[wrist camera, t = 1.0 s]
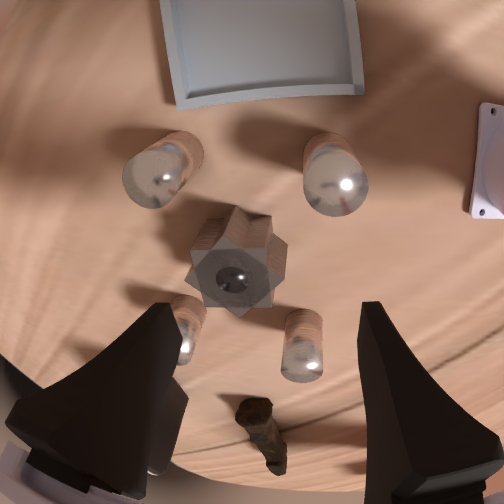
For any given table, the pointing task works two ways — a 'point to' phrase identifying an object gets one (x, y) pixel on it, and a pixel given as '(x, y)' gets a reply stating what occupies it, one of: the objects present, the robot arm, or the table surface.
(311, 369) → the cylinder
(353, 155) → the cylinder
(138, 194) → the cylinder
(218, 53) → the tray
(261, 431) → the dark brown bar
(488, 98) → the table surface
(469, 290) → the table surface
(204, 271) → the nut
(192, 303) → the cylinder
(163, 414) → the battery charger
